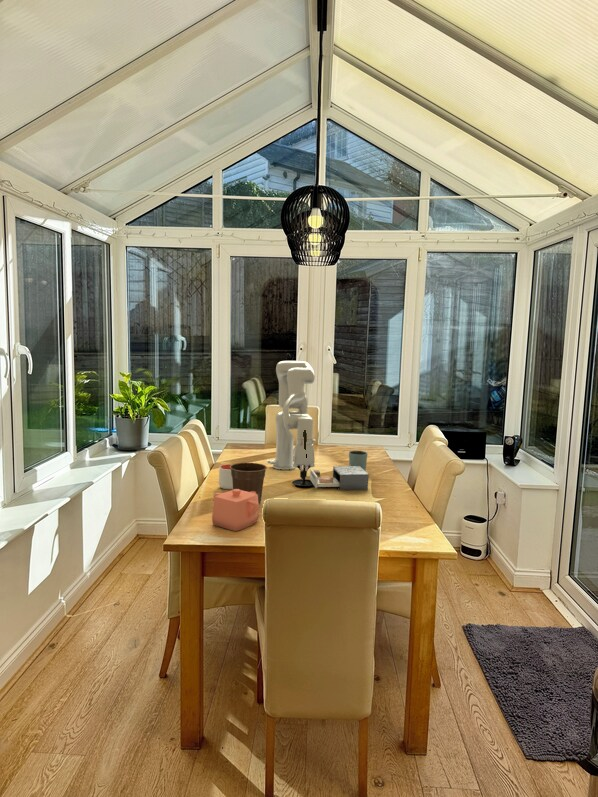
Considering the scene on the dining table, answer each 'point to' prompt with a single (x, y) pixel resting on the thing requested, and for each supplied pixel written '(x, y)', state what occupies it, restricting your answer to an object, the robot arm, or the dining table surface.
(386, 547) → the dining table surface
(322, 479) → the pink domed disc
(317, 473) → the walnut block
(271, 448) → the dining table surface
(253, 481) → the plant pot
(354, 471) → the housing
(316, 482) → the white drawer
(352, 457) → the grey green tumbler
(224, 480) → the cup
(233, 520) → the teapot
